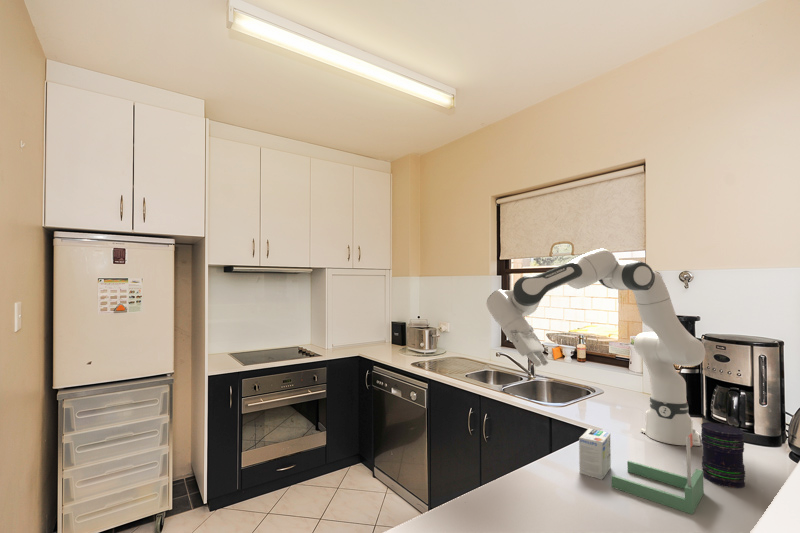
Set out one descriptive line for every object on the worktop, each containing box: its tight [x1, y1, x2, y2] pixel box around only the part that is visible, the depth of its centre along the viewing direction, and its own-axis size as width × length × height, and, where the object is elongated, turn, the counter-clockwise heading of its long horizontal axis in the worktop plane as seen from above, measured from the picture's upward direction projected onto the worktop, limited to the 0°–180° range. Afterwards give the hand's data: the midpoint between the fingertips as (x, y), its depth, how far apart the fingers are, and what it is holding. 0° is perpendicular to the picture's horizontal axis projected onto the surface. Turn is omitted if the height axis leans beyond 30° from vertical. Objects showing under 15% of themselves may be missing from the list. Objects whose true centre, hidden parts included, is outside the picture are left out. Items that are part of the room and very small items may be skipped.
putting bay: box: [611, 433, 705, 515], centre depth 111 cm, size 15×18×18 cm
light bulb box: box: [578, 427, 612, 480], centre depth 122 cm, size 11×7×11 cm, turn 141°
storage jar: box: [700, 421, 746, 489], centre depth 117 cm, size 10×10×15 cm
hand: (542, 365), depth 134 cm, fingers open, 8 cm apart
